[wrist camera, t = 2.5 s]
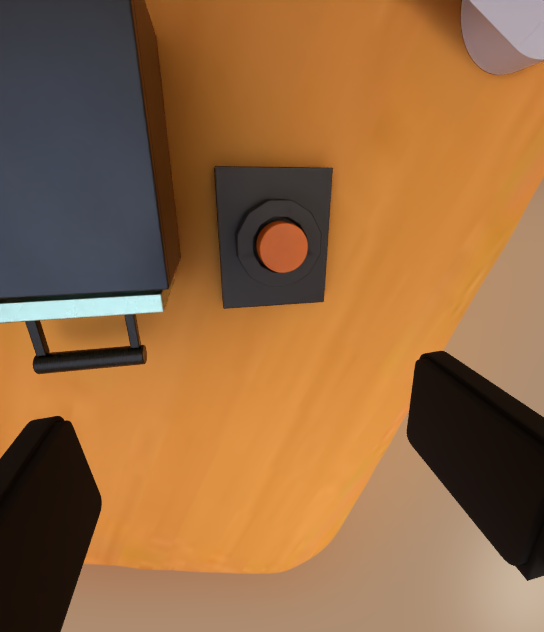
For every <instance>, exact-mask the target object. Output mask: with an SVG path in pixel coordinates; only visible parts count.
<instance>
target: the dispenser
mask: <svg viewBox="0 0 544 632" xmlns="http://www.w3.org/2000/svg"><path fill="white" fill-rule="evenodd" d="M180 258H181V253H180V244H179V235H178V226H177V217H176V208H175V199H174V190H173V181H172V172H171V163H170V155H169V146H168V137H167V128H166V119H165V110H164V101H163V92H162V83H161V74H160V65H159V56H158V47H157V38H156V34H155V31H154V28H153V25H152V22H151V19H150V16H149V13H148V10H147V7H146V4H145V1H144V0H0V299H1V298H19V297H37V296H55V295H74V294H92V293H110V292H128V291H146V290H165V289H169V287H170V285H171V282H172V279H173V277H174V274H175V271H176V269H177V266H178V263H179V261H180Z"/></svg>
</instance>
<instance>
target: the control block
mask: <svg viewBox="0 0 544 632" xmlns="http://www.w3.org/2000/svg"><path fill="white" fill-rule="evenodd" d="M214 172H215V187H216V203H217V219H218V234H219V250H220V266H221V281H222V297H223V307H224V309H226V308H240V307H255V306H270V305H285V304H299V303H314V302H324V290H325V275H326V260H327V246H328V231H329V216H330V202H331V187H332V172H333V168H307V167H230V166H215V168H214ZM274 221H286V222H289V223H291V224H294V225H296V226H297V227H299V228H300V229H301V230H302V231H303V232H304V234H305V236H306V238H307V242H308V251H307V255H306V258H305V260H304V261H303V263H302V264H301V265H300V266H299V267H298V268H296V269H295V270H293V271H290V272H287V273H279V272H275V271H272V270H271V269H269V268H268V267H267V266H266V265H265V264H264V263H263V261H262V260H261V259H260V257H259V255H258V253H257V248H256V242H257V238H258V235H259V233H260V232H261V230H262V229H263V228H264V227H265V226H266V225H267V224H269V223H271V222H274Z"/></svg>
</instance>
